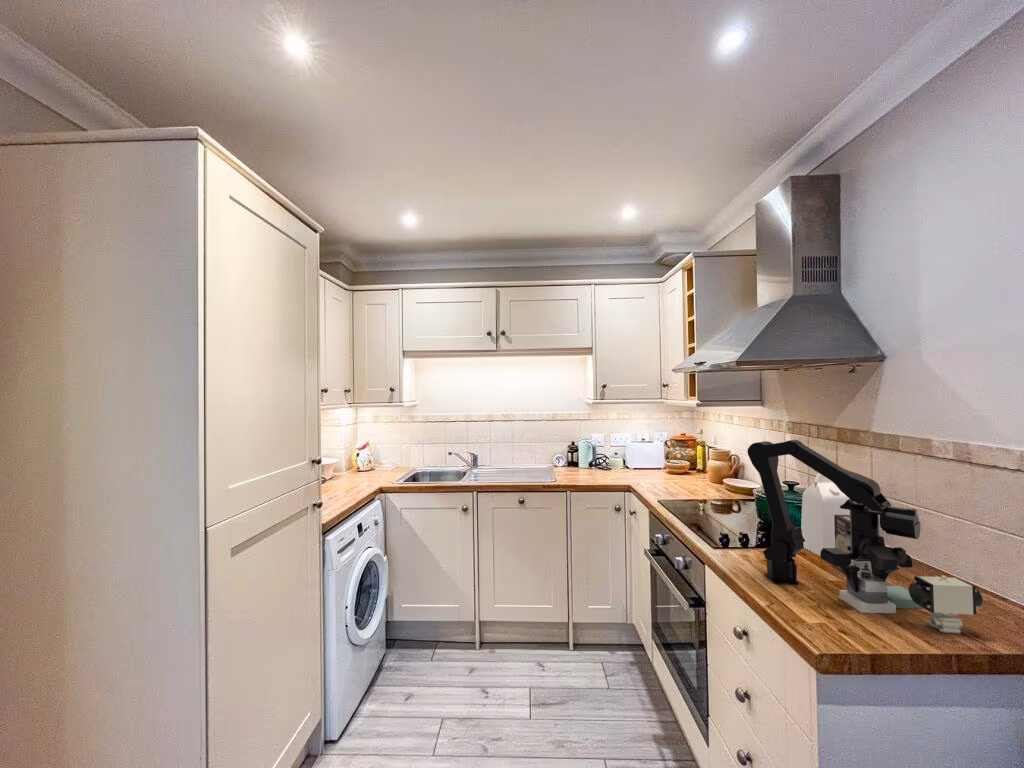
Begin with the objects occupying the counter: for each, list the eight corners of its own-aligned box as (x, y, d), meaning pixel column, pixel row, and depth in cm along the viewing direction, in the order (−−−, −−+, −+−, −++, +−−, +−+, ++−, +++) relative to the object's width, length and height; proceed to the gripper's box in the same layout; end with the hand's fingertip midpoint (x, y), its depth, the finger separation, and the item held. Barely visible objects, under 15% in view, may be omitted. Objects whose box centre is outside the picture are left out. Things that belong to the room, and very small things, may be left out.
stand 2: (892, 607, 111) (892, 599, 111) (869, 593, 119) (869, 585, 119) (927, 608, 110) (926, 600, 110) (901, 593, 118) (900, 586, 118)
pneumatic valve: (984, 637, 97) (982, 581, 97) (924, 633, 99) (922, 578, 99) (963, 624, 102) (961, 571, 103) (906, 621, 104) (904, 569, 104)
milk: (834, 545, 156) (832, 470, 156) (860, 557, 144) (857, 476, 145) (800, 546, 156) (798, 471, 156) (823, 558, 144) (820, 477, 145)
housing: (866, 602, 109) (865, 578, 109) (846, 589, 116) (845, 567, 116) (887, 602, 109) (886, 578, 109) (866, 590, 116) (866, 567, 116)
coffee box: (834, 566, 138) (832, 513, 138) (857, 567, 136) (856, 514, 137) (850, 578, 129) (848, 522, 129) (875, 579, 127) (874, 523, 128)
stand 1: (861, 612, 108) (861, 604, 108) (839, 597, 116) (839, 589, 116) (896, 613, 108) (895, 604, 108) (871, 598, 116) (871, 590, 116)
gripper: (847, 539, 105) (849, 606, 105) (931, 540, 104) (933, 607, 104) (818, 525, 116) (819, 585, 116) (893, 526, 115) (895, 587, 115)
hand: (866, 591), depth 112 cm, fingers closed on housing, 5 cm apart
